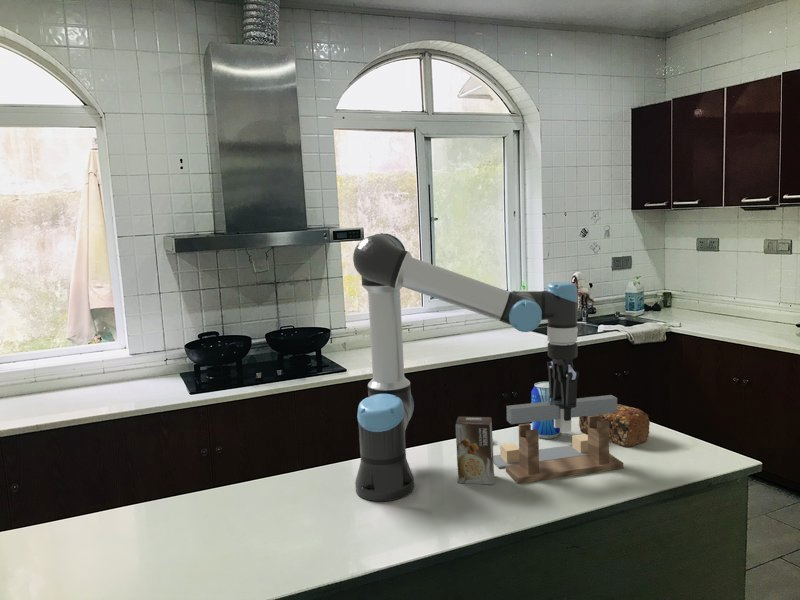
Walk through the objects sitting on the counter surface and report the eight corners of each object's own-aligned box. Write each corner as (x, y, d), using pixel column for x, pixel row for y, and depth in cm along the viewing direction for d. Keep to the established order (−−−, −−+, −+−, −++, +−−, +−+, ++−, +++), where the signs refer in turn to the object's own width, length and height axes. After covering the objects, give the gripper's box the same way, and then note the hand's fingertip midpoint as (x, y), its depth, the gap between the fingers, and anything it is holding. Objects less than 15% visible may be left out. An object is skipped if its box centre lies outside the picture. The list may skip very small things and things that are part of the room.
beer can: (560, 440, 192) (560, 388, 190) (532, 439, 194) (531, 388, 192) (559, 430, 201) (558, 380, 198) (532, 430, 202) (531, 380, 200)
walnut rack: (517, 483, 164) (516, 434, 162) (505, 471, 172) (504, 424, 170) (623, 468, 170) (623, 421, 168) (607, 457, 178) (607, 412, 176)
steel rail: (511, 424, 164) (511, 409, 164) (506, 420, 167) (506, 405, 167) (617, 412, 170) (617, 397, 170) (611, 409, 173) (611, 394, 173)
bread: (650, 441, 188) (650, 408, 187) (625, 450, 183) (625, 416, 181) (601, 425, 204) (601, 394, 203) (577, 432, 199) (576, 401, 197)
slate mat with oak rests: (498, 468, 174) (498, 454, 173) (488, 457, 182) (488, 444, 181) (606, 453, 180) (606, 440, 180) (591, 444, 188) (591, 430, 188)
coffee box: (495, 475, 170) (493, 416, 168) (492, 485, 164) (490, 424, 161) (460, 473, 172) (458, 415, 170) (457, 483, 166) (454, 423, 164)
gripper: (591, 347, 159) (590, 437, 162) (561, 335, 175) (561, 418, 178) (563, 349, 157) (563, 441, 161) (535, 337, 173) (536, 421, 176)
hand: (562, 429), depth 169 cm, fingers closed on steel rail, 3 cm apart
